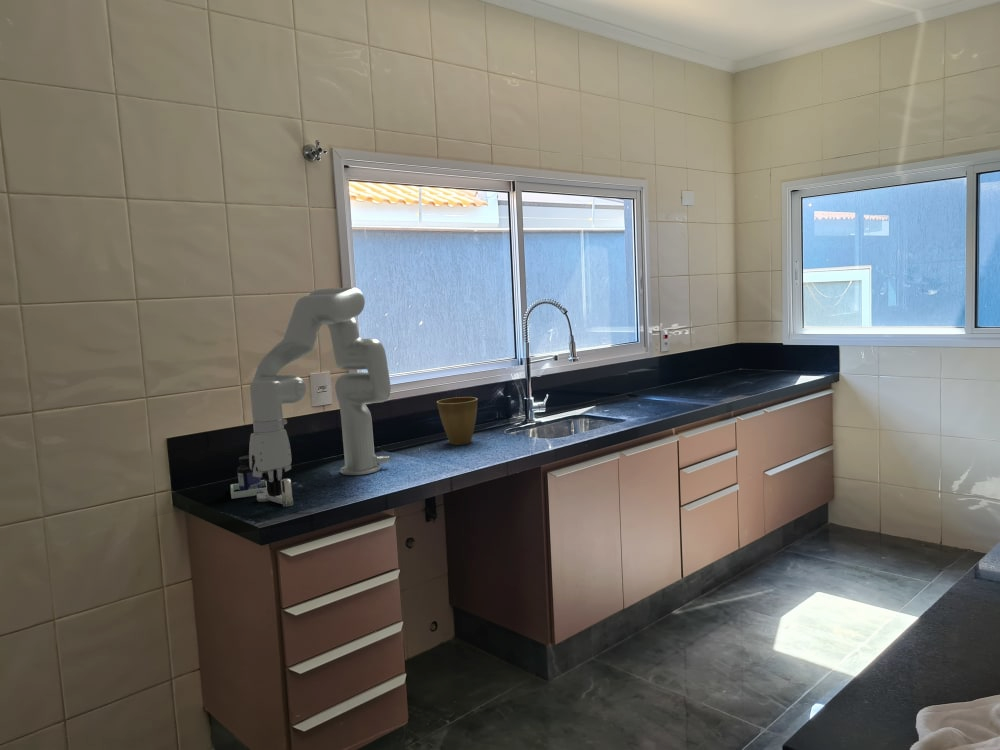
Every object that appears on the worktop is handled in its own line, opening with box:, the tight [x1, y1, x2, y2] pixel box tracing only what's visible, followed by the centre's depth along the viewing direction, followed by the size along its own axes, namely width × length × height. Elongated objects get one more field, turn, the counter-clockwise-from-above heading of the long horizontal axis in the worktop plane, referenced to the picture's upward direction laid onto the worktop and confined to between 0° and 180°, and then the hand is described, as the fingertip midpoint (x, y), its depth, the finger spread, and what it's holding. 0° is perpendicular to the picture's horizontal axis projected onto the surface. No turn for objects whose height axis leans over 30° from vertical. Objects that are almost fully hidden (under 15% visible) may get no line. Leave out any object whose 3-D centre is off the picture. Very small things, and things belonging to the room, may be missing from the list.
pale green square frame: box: [230, 479, 267, 500], centre depth 217 cm, size 10×10×3 cm
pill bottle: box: [236, 454, 263, 491], centre depth 217 cm, size 6×6×11 cm
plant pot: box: [436, 396, 478, 446], centre depth 273 cm, size 15×15×16 cm
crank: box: [256, 478, 294, 508], centre depth 204 cm, size 15×5×7 cm, turn 47°
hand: (274, 495), depth 197 cm, fingers closed
